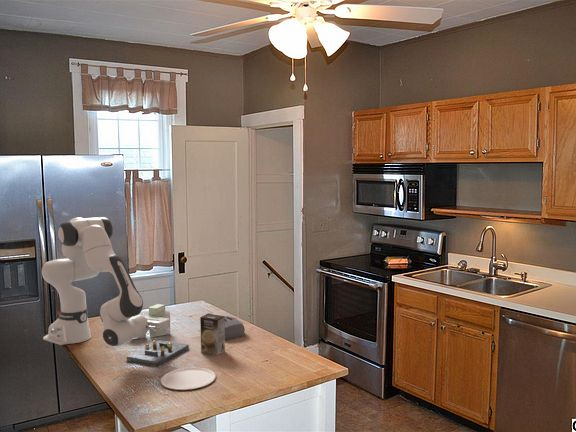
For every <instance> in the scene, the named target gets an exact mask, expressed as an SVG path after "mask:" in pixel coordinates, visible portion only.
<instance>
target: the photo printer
mask: <svg viewBox="0 0 576 432" xmlns="http://www.w3.org/2000/svg"><path fill="white" fill-rule="evenodd" d="M165 318H169V319H170V320H171V313H170V310H168V309H165ZM148 331H149V333H150V330H148ZM165 335H166V336H168V335H171V326H170V327H169V328H167V329H166V332H165V333H163V334H161V335H159V336H158V337H162V336H165ZM155 337H157V336H153V335H150V334H149V338H155Z"/></svg>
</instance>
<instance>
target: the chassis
mask: <svg viewBox="0 0 576 432" xmlns="http://www.w3.org/2000/svg"><path fill="white" fill-rule="evenodd" d="M189 345H190V344H186V343H181V342H175V341H174V342H173V341H167V340H162V339H159V340H157V339H154V340H152V343H151V344H149V343H145V344H144V346H145V347H143V348H141V349H139V350H137V351H135V352H133V353H131V354H129V355H127V356H126V362H130V363H136V364H142V365H146V366H153V367H157V368H158V367H160V366H161V365H164V364H165V363H167V362H169V361H170V360H172V359H174V358H176V357H177V356H179V355H181V354H182V353H185V352H187V351H189V349H190V346H189Z"/></svg>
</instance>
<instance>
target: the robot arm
mask: <svg viewBox="0 0 576 432" xmlns="http://www.w3.org/2000/svg"><path fill="white" fill-rule="evenodd" d="M113 231H114V229H113V223H112V222H111V220H110V219H109V218H108V217H105V216H99V217H87V218H83V217H79V216H78V217H73V218H72V219H70V220H68V221H64V222H61V223H60V224H59V226H58V230H57V235H58V236H57V237H58V239H59V242H60V243H61V244H62V245H61V252H62V254H63V256H64V257H65V258H56V259H52V260H49V261H47V262H45V263H44V264H43V265H42V267H41V275H42V279H44V281H45V282H47V283H48V284H49V285H52V287H54V288H55V290H56V291H57V292H58V295H59V300H60V310H59V311H57V315H58V318H57V319H56V320H55V321H54V322H53V323H51V324H50V325H49V327H48V330H47V331H48V334H45V336H43V338H42V340H44V341H45V342H50V343H53V344H56V345H59V346H62V345H63V346H64V345H67V344H76V343H77V344H78V343H83V342H86V341H88V340H90V339H91V338H92V337H93V336H92V332H91V330H90V323H89V318H88V317H89V316H88V315H89V314H88V313H89V311H88V307H87V297H86V296H87V295H86V294H87V293H86V292H85V291H84V290H83V289H82V288H79V287H76V286H73V284H72V283H73V282H75V281H82V280H84V281H85V280H89V279H92V278H94V277H95V278H96V277H98V275H99V274H100V273H108V272H109V273H110V274H112V275H113V277H114V280H115V282H116V285H117V287H118V290H119V294H118V296H115V297H114V298H111V299H110V300H108V301H106V302H104V303H103V304H101V306H100V309H99V317H100V320H101V322H102V325H103V331H102V338H103V341H104V342H105V344H107V345H109V346H112V347H118V346H122V345H125V344H127V343H129V342H131V341H133V340H137V339H136V338H138V337H141V336H143V335H145V334H146V335H147V333H148V331H149V330H153V331H161V330H164V329H167V328H169V327H170V328H171V318H170V319H169V318H165V316H160V317H154V316H149V314H148V315H147V314H145V315H144V314H141V312H142V311H143V307H144V301H143V297H142V296H141V294H140V292H138V289H137V288H136V286H135V284H134V281H133V279H132V276H131V275H130V272H129V270H128V268H127V266H126V264H125V262H124V260H123V259H122V258H121V257H120V256H119V255H118V254H117V255H116V254H115V252H114V249H113V245H112V243H111V238H112V236H113Z"/></svg>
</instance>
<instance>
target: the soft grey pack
mask: <svg viewBox="0 0 576 432" xmlns="http://www.w3.org/2000/svg"><path fill="white" fill-rule="evenodd" d="M224 316H225V341H226V340H228V341H229V340H234V339H235V340H236V339H238V338H239V339H240V338H241V337H243V336H244V335H245V331H246V328H245V325H244V323H243V322H242V321H239V319H237V318H235V317H233V316H228V315H224Z"/></svg>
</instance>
